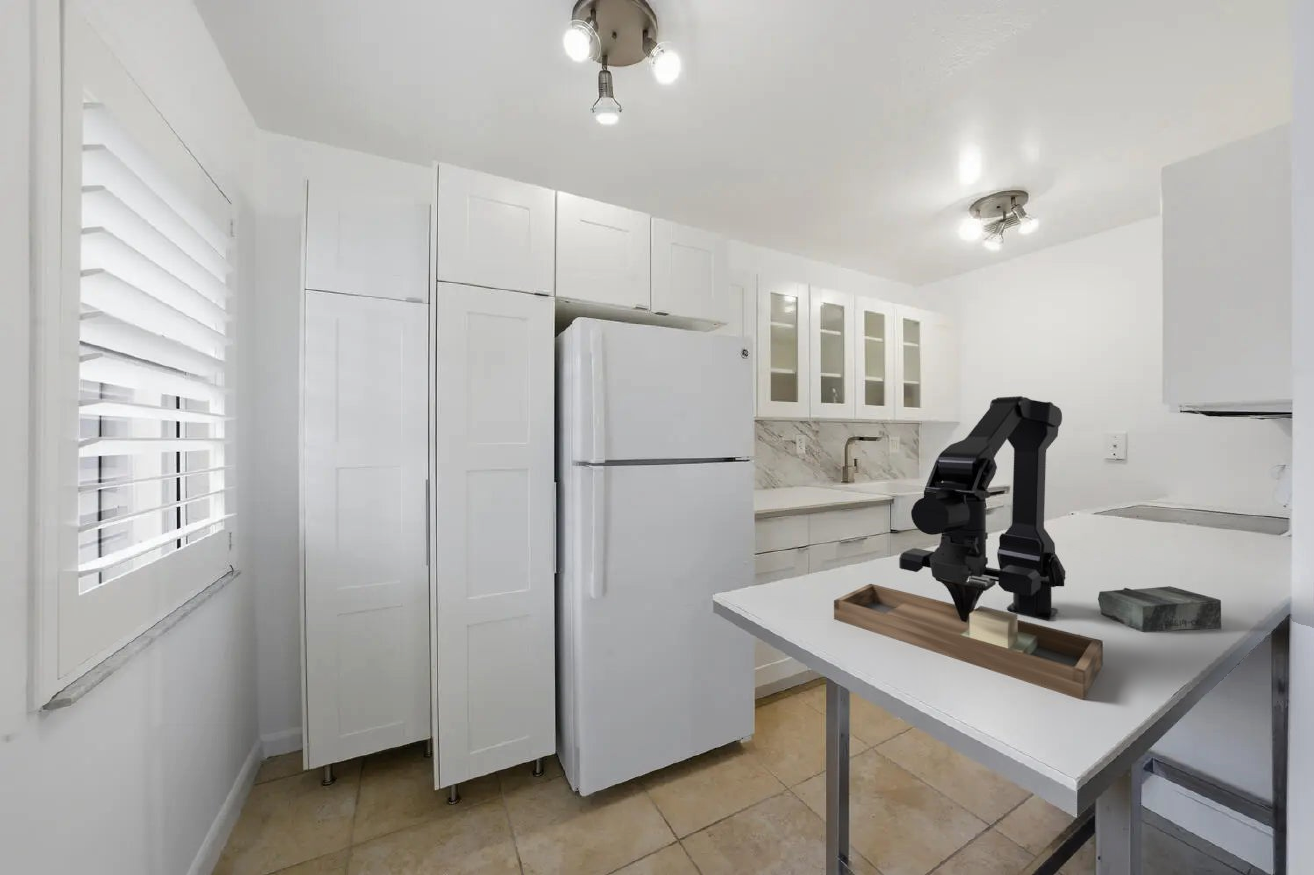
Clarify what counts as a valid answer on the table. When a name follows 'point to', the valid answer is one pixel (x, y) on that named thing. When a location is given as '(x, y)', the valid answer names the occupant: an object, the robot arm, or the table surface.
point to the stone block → (1161, 609)
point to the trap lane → (940, 629)
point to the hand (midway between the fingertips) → (965, 621)
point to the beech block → (994, 626)
